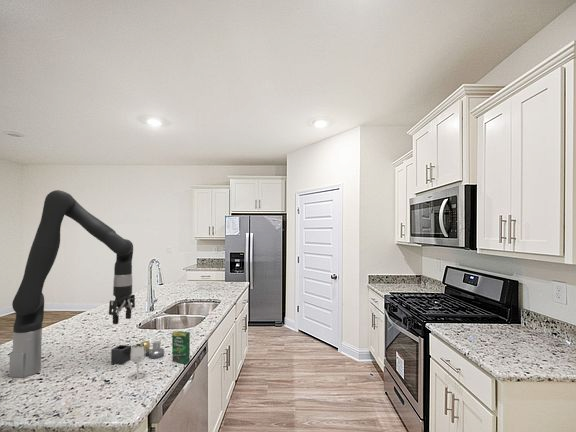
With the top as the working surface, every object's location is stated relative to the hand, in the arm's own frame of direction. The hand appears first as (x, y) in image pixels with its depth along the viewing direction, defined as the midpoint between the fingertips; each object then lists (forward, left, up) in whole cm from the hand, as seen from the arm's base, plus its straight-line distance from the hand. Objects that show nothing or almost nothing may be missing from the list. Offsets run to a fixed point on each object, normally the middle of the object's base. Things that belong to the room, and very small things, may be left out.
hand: (122, 321), depth 146 cm
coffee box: (+4, -26, -18) cm, 32 cm away
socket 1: (0, 0, -18) cm, 18 cm away
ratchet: (+8, -6, -17) cm, 20 cm away
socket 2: (+13, -3, -18) cm, 22 cm away
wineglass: (-12, -16, -18) cm, 27 cm away
